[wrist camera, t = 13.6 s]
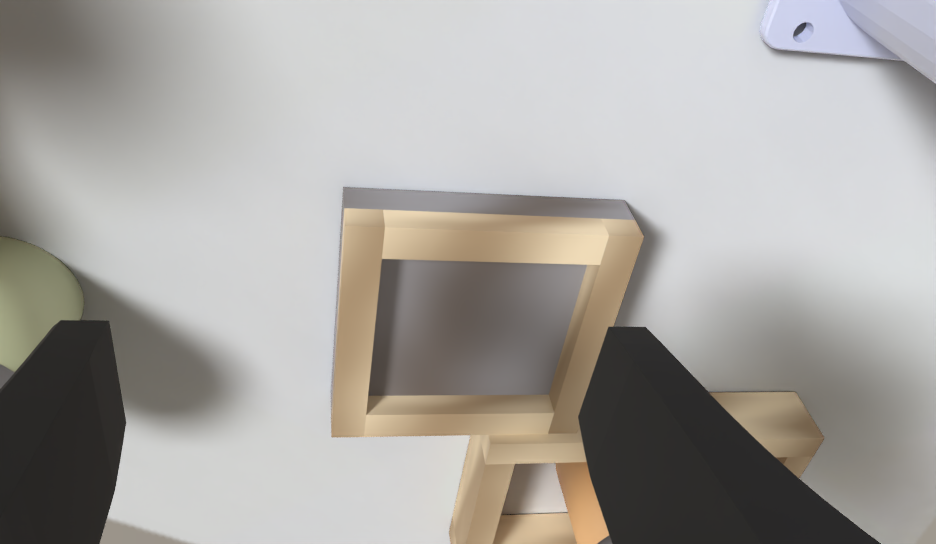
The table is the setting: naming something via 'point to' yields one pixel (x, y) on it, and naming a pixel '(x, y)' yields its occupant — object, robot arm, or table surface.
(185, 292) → the table surface
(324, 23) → the table surface
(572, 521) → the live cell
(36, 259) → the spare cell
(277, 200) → the table surface
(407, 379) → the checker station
